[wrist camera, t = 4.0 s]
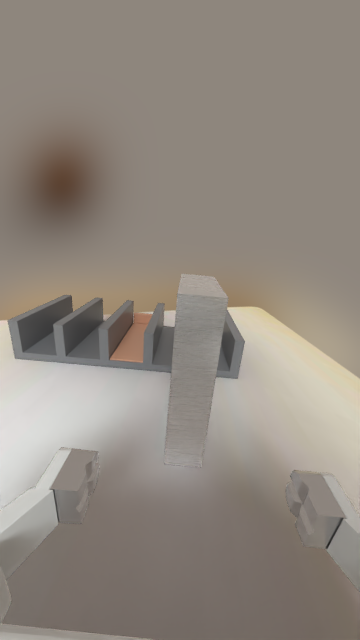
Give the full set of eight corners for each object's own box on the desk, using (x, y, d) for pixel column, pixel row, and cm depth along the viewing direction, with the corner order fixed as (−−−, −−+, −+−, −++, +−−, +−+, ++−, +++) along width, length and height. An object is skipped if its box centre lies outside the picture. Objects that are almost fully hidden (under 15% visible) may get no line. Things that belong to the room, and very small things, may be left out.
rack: (15, 358, 30) (7, 320, 28) (69, 321, 44) (66, 294, 42) (237, 378, 30) (244, 341, 28) (222, 334, 44) (226, 308, 42)
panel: (163, 464, 18) (177, 293, 13) (171, 397, 25) (181, 273, 21) (201, 467, 18) (228, 298, 13) (197, 400, 25) (213, 276, 21)
